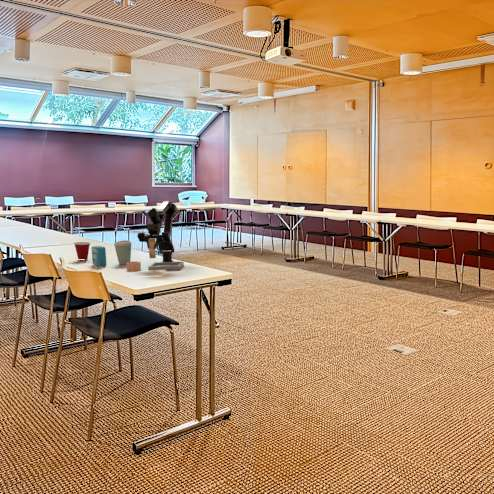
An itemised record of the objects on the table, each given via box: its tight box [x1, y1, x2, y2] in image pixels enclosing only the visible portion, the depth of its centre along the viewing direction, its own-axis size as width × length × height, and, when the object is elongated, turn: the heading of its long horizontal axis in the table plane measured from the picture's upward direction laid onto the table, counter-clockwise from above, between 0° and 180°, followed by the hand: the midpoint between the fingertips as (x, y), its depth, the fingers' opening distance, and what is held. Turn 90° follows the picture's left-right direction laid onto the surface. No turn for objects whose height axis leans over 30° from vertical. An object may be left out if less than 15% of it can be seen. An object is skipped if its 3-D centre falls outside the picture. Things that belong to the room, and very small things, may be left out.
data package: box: [91, 245, 107, 267], centre depth 341 cm, size 12×4×12 cm, turn 37°
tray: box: [147, 261, 185, 272], centre depth 322 cm, size 16×18×2 cm
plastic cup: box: [73, 241, 91, 260], centre depth 367 cm, size 11×11×12 cm
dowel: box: [148, 239, 157, 259], centre depth 316 cm, size 4×4×11 cm
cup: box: [125, 260, 142, 272], centre depth 317 cm, size 8×8×5 cm
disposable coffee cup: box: [114, 240, 132, 266], centre depth 339 cm, size 11×11×15 cm
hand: (151, 248), depth 315 cm, fingers closed on dowel, 4 cm apart
